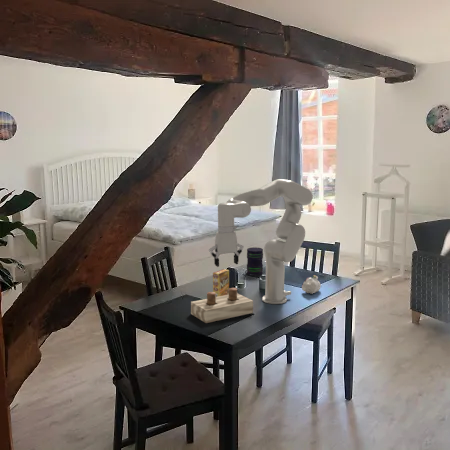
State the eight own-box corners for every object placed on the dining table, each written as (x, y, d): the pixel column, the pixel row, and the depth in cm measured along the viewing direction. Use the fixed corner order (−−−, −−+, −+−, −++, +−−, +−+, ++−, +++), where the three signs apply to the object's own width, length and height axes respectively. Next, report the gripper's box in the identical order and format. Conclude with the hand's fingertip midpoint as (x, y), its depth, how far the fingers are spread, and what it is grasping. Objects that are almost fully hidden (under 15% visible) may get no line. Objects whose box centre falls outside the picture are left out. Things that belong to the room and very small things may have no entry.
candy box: (219, 303, 260) (219, 273, 258) (212, 301, 263) (212, 272, 260) (229, 298, 267) (229, 270, 265) (222, 297, 270) (222, 268, 267)
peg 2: (233, 298, 251) (234, 287, 250) (238, 301, 247) (238, 289, 246) (227, 300, 249) (227, 288, 248) (231, 302, 245) (231, 290, 244)
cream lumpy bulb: (316, 272, 284) (306, 275, 271) (327, 281, 281) (318, 285, 268) (306, 285, 287) (296, 289, 274) (317, 294, 284) (307, 299, 271)
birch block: (191, 314, 245) (191, 301, 244) (236, 304, 258) (236, 292, 257) (206, 323, 233) (206, 310, 232) (252, 312, 247) (253, 300, 246)
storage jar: (265, 271, 319) (265, 248, 316) (259, 275, 310) (259, 251, 307) (250, 270, 323) (250, 246, 320) (244, 274, 314) (244, 250, 311)
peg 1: (212, 303, 244) (212, 291, 243) (217, 305, 241) (217, 293, 240) (205, 304, 242) (205, 292, 241) (209, 307, 239) (209, 295, 238)
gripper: (239, 226, 247) (239, 260, 250) (205, 229, 240) (206, 265, 243) (246, 229, 240) (246, 264, 243) (211, 232, 233) (212, 269, 237)
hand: (226, 264), depth 243 cm, fingers open, 9 cm apart
